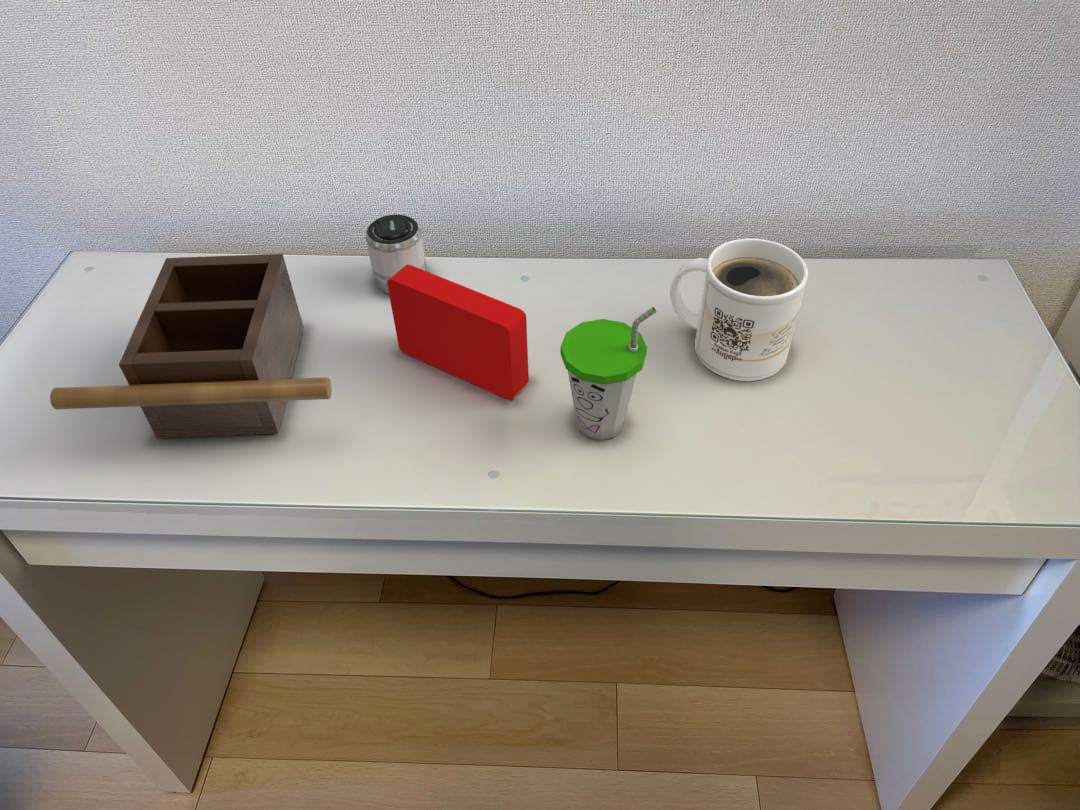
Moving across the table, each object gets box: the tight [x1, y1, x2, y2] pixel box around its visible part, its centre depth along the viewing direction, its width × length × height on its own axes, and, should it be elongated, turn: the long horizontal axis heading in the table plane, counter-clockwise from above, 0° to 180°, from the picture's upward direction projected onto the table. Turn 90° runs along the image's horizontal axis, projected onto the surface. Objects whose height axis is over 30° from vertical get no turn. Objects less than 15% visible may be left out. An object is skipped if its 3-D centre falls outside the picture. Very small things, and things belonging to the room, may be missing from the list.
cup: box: [559, 306, 657, 442], centre depth 79 cm, size 8×8×15 cm
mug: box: [669, 237, 809, 382], centre depth 88 cm, size 10×12×11 cm
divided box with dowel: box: [49, 253, 333, 439], centre depth 85 cm, size 18×25×10 cm
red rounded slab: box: [387, 265, 530, 401], centre depth 87 cm, size 15×3×10 cm, turn 58°
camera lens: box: [364, 214, 427, 295], centre depth 98 cm, size 6×6×8 cm
